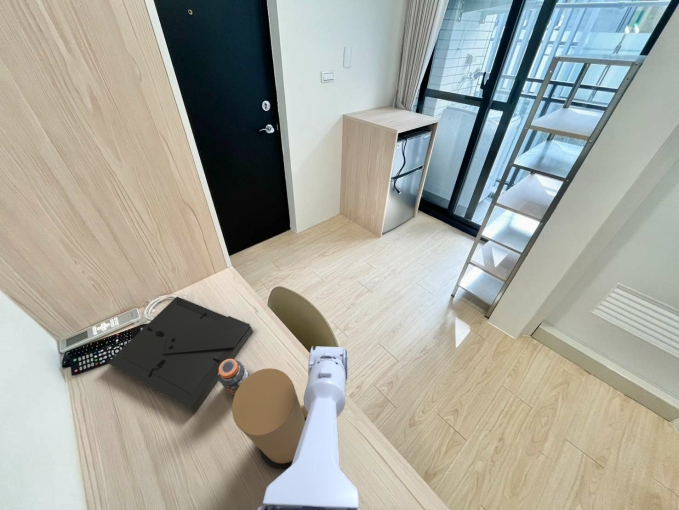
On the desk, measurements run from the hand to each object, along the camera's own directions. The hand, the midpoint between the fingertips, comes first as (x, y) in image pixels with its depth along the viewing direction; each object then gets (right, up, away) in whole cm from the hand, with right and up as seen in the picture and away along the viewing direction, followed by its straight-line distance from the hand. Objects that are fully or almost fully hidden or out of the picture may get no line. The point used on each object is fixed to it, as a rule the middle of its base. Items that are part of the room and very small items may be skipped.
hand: (331, 407), depth 61 cm
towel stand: (-10, -7, 0) cm, 12 cm away
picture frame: (-41, +8, +15) cm, 45 cm away
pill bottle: (-24, +1, +8) cm, 25 cm away
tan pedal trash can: (-8, -4, 0) cm, 9 cm away
